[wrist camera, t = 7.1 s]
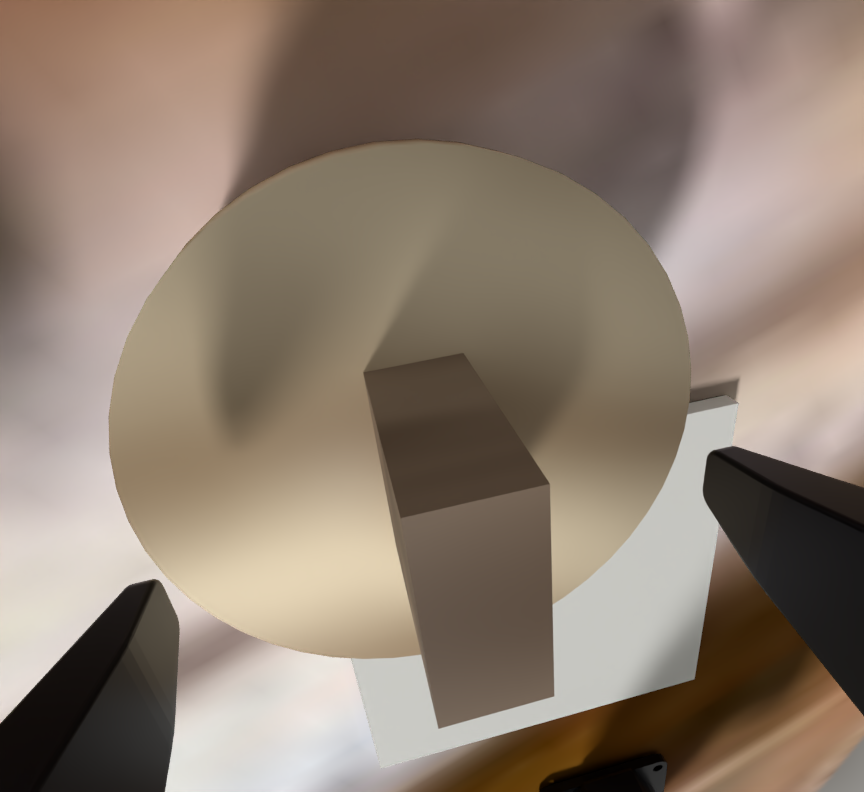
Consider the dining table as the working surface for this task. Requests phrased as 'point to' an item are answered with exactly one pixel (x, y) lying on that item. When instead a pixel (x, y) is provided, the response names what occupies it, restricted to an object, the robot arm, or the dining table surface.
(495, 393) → the lid
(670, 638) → the mat
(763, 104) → the dining table surface
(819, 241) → the dining table surface
